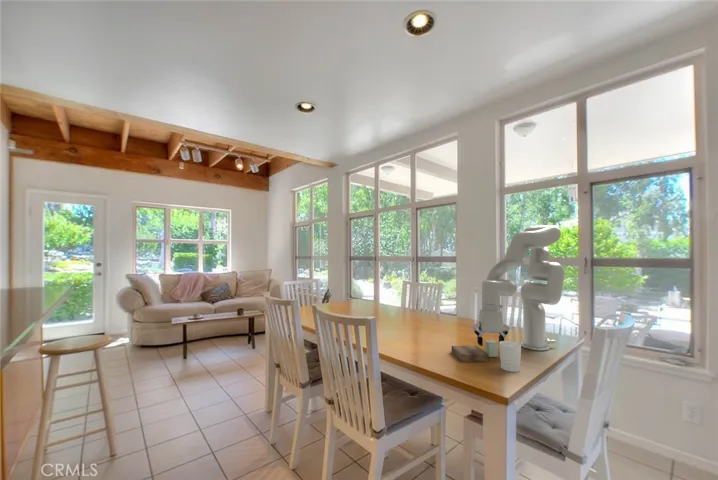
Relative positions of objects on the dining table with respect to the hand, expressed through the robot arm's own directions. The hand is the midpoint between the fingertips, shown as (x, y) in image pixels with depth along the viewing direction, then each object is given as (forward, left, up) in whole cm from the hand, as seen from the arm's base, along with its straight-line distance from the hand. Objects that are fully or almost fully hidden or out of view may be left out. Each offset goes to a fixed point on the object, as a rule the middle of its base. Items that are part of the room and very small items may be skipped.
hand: (490, 345), depth 138 cm
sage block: (0, 0, -5) cm, 5 cm away
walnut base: (+11, +2, -5) cm, 12 cm away
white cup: (0, +16, -5) cm, 17 cm away
